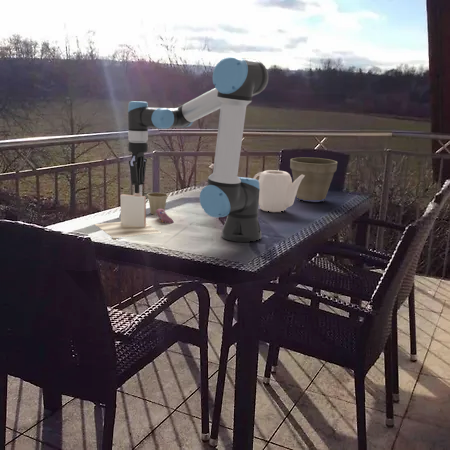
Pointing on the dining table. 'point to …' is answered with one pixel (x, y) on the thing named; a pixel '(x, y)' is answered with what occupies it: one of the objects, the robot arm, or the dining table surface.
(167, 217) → the video game controller
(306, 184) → the plant pot
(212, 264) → the dining table surface
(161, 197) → the flower pot
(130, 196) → the tile
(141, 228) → the board
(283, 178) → the watering can
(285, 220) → the dining table surface
